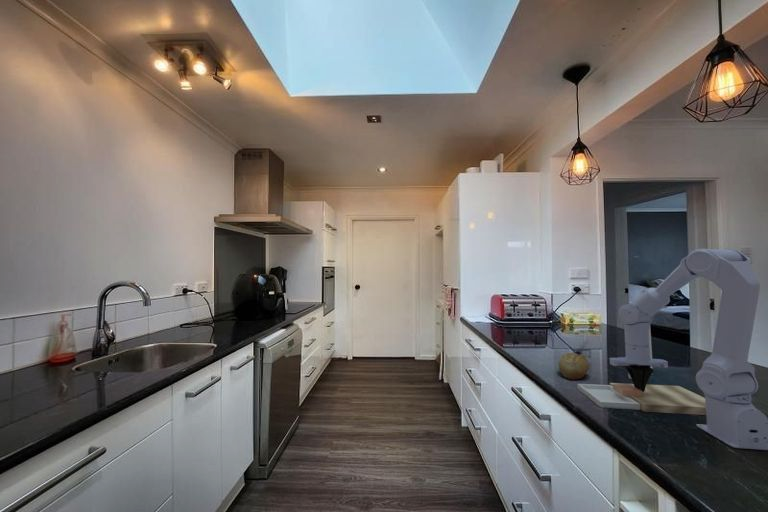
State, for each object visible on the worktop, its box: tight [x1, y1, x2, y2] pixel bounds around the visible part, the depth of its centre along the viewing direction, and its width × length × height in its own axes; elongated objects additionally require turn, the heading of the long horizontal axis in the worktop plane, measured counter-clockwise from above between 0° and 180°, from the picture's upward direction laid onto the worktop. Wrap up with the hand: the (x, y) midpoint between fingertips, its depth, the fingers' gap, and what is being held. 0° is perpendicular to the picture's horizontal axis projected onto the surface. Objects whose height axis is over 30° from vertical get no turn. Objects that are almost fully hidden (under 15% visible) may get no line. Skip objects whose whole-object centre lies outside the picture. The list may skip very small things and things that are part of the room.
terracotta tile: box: [613, 383, 642, 396], centre depth 90 cm, size 5×5×2 cm
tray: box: [576, 383, 641, 411], centre depth 91 cm, size 10×14×2 cm
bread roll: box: [558, 352, 590, 380], centre depth 112 cm, size 10×15×8 cm, turn 142°
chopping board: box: [609, 382, 706, 416], centre depth 89 cm, size 20×16×2 cm
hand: (639, 390), depth 90 cm, fingers closed
